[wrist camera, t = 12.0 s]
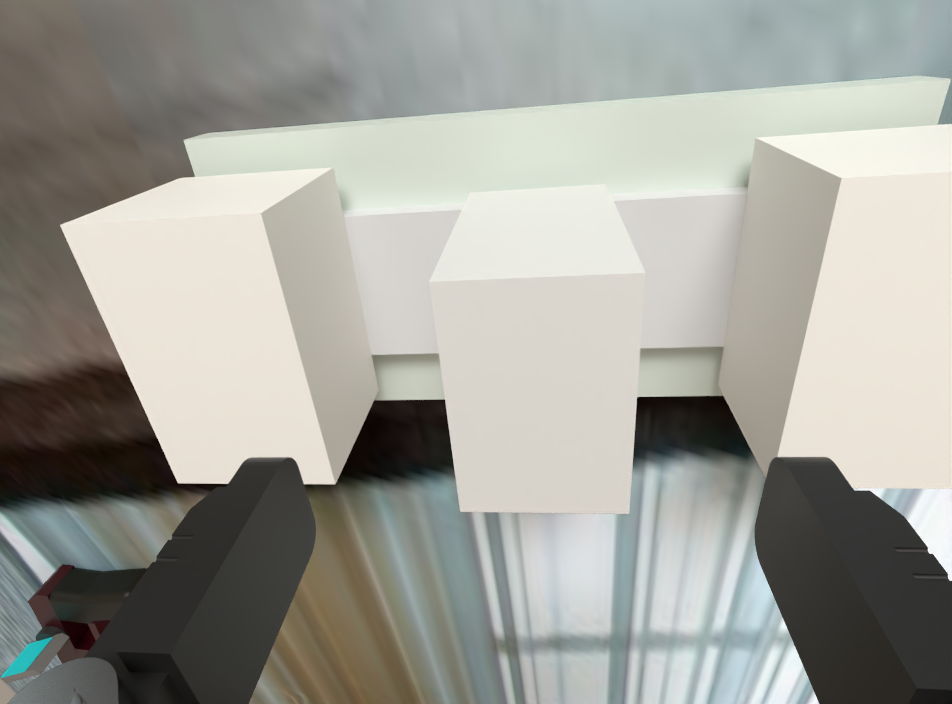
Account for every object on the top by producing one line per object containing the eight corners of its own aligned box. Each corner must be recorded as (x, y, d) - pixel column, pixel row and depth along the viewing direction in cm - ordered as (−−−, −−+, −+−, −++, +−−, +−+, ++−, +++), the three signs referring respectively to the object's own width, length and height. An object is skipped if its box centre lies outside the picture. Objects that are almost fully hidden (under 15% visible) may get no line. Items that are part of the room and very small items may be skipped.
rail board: (283, 381, 24) (189, 507, 17) (208, 133, 19) (40, 181, 12) (837, 371, 21) (966, 517, 14) (917, 75, 16) (1164, 100, 10)
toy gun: (101, 669, 38) (46, 748, 34) (41, 548, 32) (-35, 626, 28) (239, 687, 37) (201, 770, 33) (204, 567, 31) (152, 650, 27)
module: (485, 371, 20) (461, 520, 14) (469, 192, 17) (428, 282, 11) (600, 369, 19) (628, 523, 13) (606, 184, 16) (645, 272, 10)
